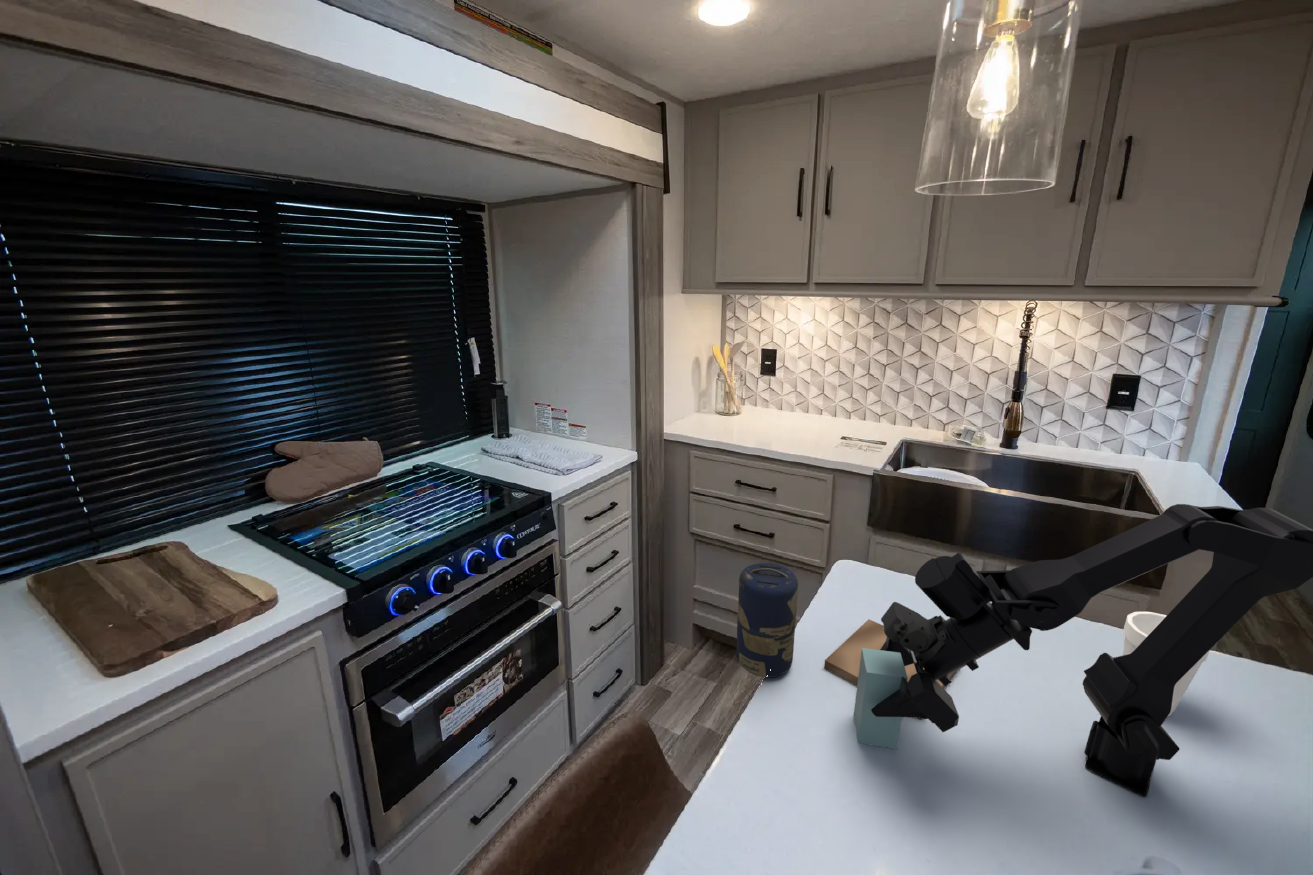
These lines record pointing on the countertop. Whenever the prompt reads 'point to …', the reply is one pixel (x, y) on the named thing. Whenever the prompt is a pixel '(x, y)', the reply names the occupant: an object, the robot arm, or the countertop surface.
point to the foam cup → (1135, 634)
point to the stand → (849, 653)
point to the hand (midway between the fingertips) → (869, 692)
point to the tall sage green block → (877, 696)
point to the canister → (766, 619)
